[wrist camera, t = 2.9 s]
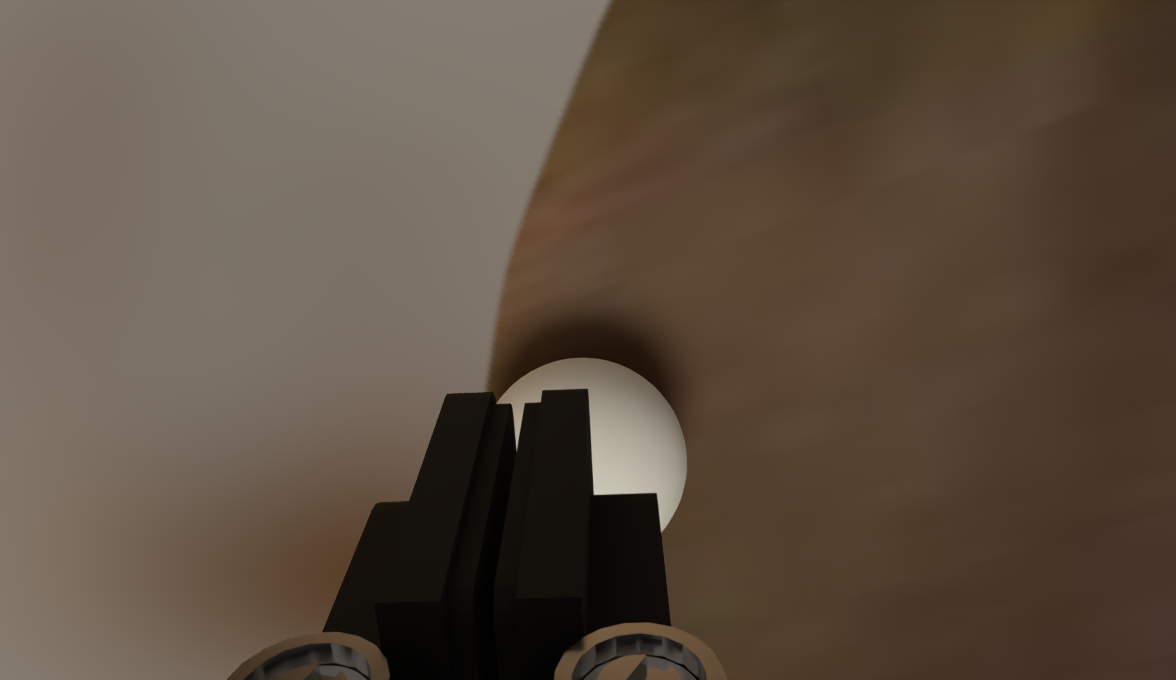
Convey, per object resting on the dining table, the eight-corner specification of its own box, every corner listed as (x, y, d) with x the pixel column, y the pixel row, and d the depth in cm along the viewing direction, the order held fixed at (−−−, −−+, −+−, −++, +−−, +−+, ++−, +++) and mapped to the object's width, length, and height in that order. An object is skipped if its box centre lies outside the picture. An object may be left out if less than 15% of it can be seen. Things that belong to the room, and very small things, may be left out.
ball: (484, 327, 29) (456, 416, 24) (681, 325, 29) (699, 414, 24) (495, 496, 32) (472, 614, 26) (677, 496, 32) (693, 613, 26)
